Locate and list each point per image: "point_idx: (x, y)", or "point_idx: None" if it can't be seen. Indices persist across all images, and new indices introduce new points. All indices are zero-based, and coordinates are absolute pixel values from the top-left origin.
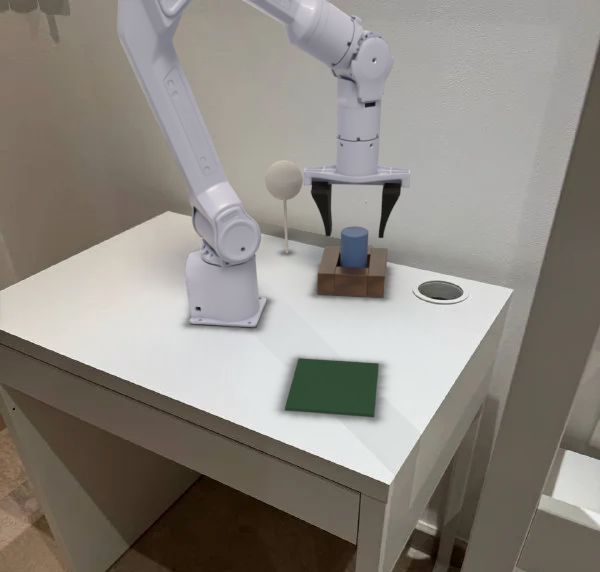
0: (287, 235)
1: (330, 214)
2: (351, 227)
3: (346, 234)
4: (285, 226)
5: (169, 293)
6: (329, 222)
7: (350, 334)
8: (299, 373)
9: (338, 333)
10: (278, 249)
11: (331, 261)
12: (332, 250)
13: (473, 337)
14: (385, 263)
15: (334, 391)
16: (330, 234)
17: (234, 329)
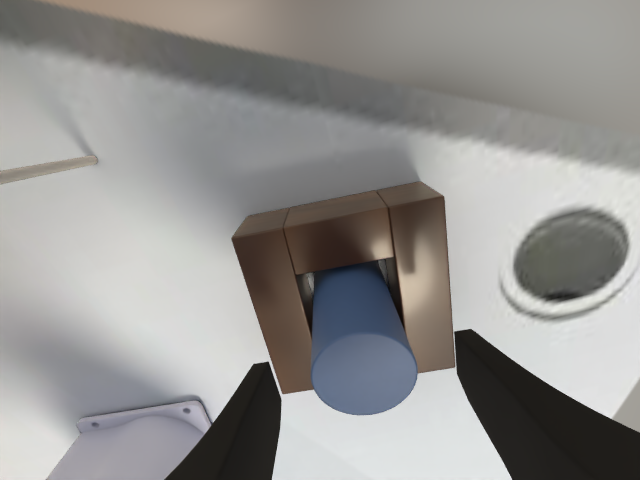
0: (51, 168)
1: (254, 438)
2: (341, 349)
3: (341, 405)
4: (15, 180)
5: (2, 419)
6: (272, 457)
7: (393, 446)
8: None
9: (372, 448)
10: (52, 142)
11: (292, 332)
12: (267, 266)
13: (611, 406)
14: (449, 303)
15: None
16: (279, 398)
17: None
